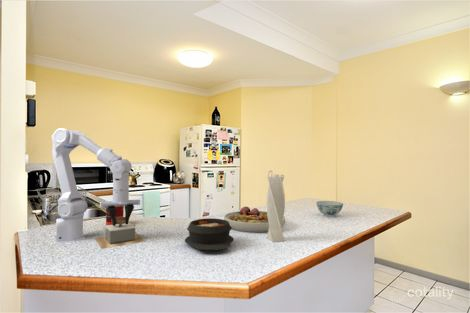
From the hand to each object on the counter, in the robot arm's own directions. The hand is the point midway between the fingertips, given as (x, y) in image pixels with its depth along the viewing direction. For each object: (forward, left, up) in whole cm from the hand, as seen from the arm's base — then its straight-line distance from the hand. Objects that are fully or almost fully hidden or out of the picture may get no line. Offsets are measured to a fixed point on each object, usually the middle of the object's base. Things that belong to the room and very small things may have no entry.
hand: (120, 224), depth 105 cm
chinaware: (+113, -16, -7) cm, 114 cm away
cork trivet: (0, 0, -6) cm, 6 cm away
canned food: (+4, +29, -7) cm, 30 cm away
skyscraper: (+52, -33, -7) cm, 62 cm away
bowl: (+60, -10, -7) cm, 61 cm away
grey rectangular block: (0, 0, -6) cm, 6 cm away
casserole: (+27, -23, -7) cm, 36 cm away
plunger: (0, 0, -6) cm, 6 cm away
